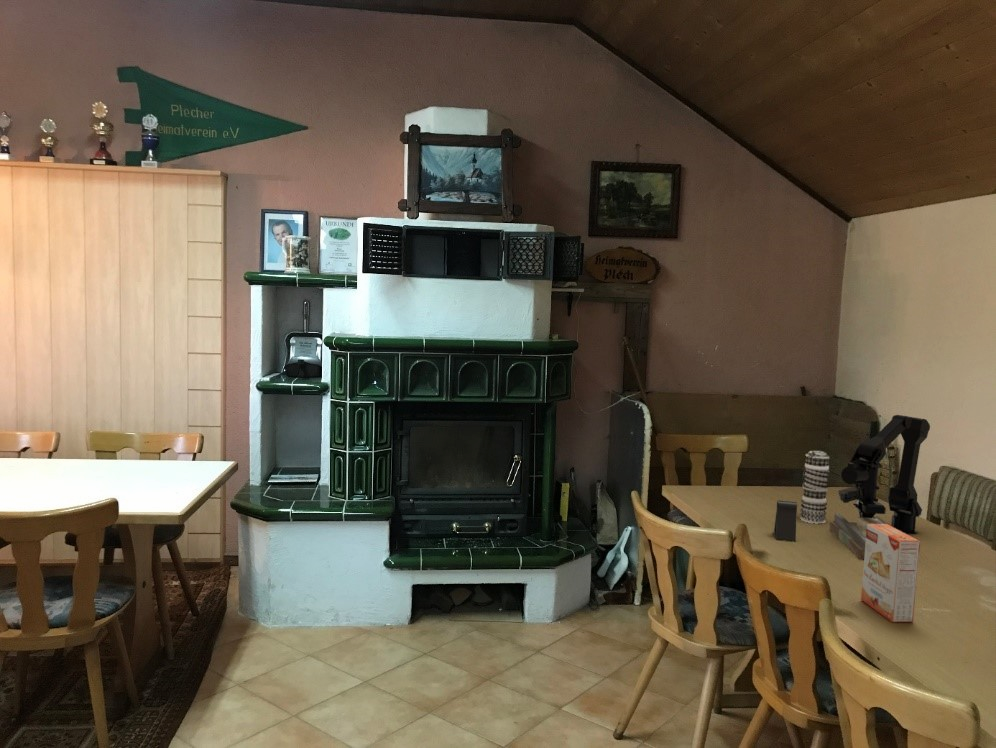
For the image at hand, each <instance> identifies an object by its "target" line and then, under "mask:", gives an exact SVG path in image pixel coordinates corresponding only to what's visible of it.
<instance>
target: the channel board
mask: <svg viewBox="0 0 996 748" xmlns="http://www.w3.org/2000/svg"><path fill="white" fill-rule="evenodd" d="M873 518H877V519H878V520H879V521H880V522H882V523H883V524H888V522H886V521H885V520H884V519H882V518H881V517H880V516H877V515H874V516H873ZM833 519H834V520H830V521H829V530H830V532H832V533H833V534H834V535H835V536H836V537H837V538H838V539H839V540H840V542H842V543H843V544H844V545H845V546H846V547H847V548H848V549H849V550H850V551H851V552H852V553H853V554H854V555H855V556H856V557H857V558H858V559H859V560H862V559H864V556H865V543H866V537H865V536H864V535H863V534H862V533H861V532H860V531H858V530H857V529H856V526H857V522H855V521H853V522H852V521H848V520H847V518H845V517H844V516H843V515H842V514H841V513H834V518H833ZM888 525H890V524H888Z"/></svg>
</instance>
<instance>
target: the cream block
mask: <svg viewBox="0 0 996 748" xmlns="http://www.w3.org/2000/svg"><path fill="white" fill-rule="evenodd" d="M856 523H857V526H856V529H857V530H858V531H860V532H861V533H862V534H863V535H864V536H865V537H866V530H867V524H883V523H882V522H880V521H879V520H878V519H877V518H863V517H860V516H857V517H856Z"/></svg>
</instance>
